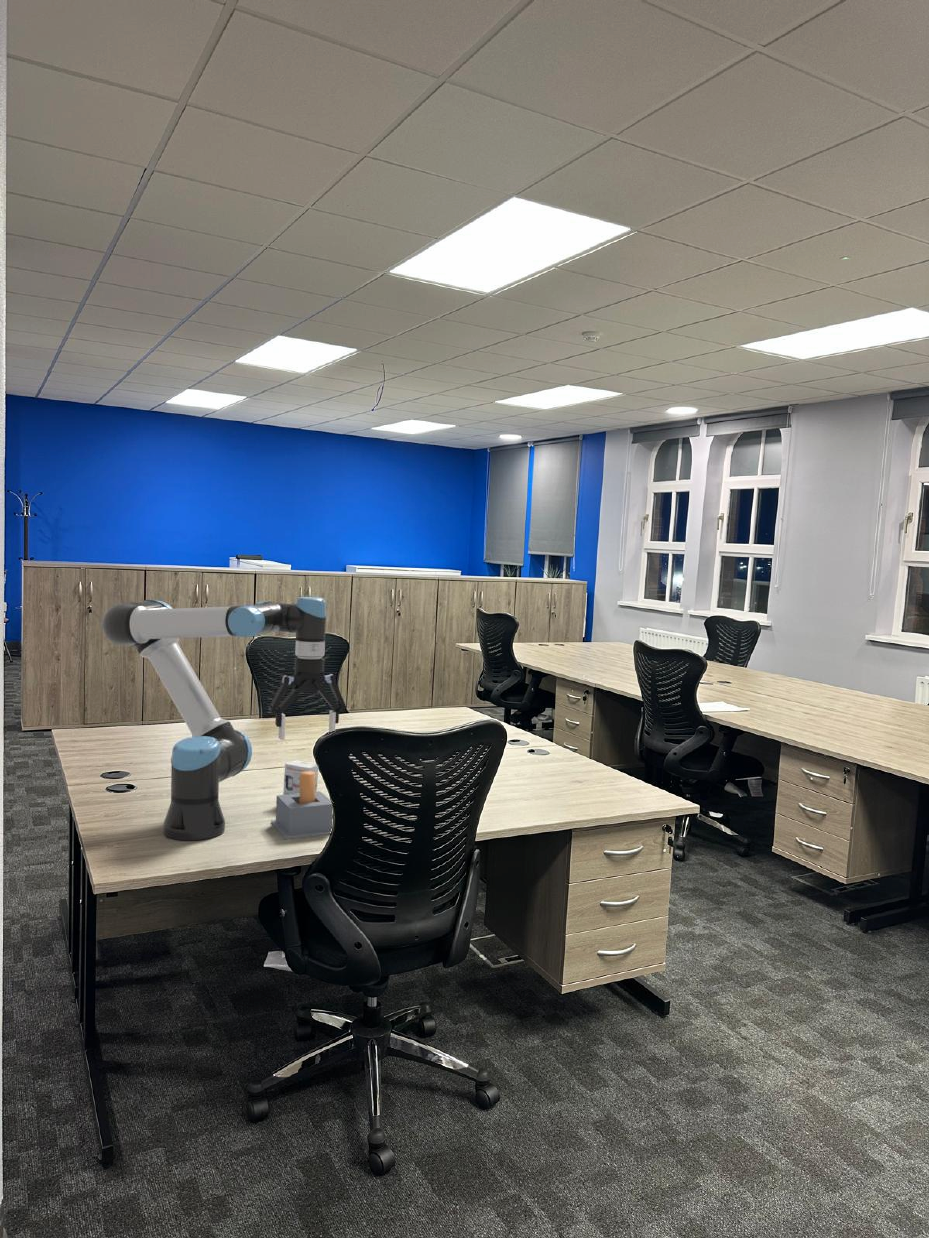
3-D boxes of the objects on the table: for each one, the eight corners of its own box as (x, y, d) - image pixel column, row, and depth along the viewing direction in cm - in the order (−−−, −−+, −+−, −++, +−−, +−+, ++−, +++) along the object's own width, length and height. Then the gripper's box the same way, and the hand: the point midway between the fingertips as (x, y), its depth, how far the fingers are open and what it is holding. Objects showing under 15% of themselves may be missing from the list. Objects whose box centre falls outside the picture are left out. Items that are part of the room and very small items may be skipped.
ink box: (281, 803, 251) (283, 763, 250) (292, 799, 255) (293, 759, 254) (307, 809, 247) (308, 768, 246) (317, 804, 252) (318, 764, 251)
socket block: (286, 839, 222) (287, 809, 221) (271, 822, 234) (271, 794, 234) (338, 832, 229) (339, 804, 228) (321, 816, 241) (322, 789, 240)
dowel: (301, 828, 229) (302, 775, 228) (297, 823, 232) (298, 771, 231) (316, 826, 231) (317, 774, 229) (311, 821, 234) (312, 770, 233)
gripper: (266, 659, 218) (263, 743, 220) (360, 658, 230) (356, 737, 232) (258, 655, 225) (255, 736, 227) (350, 654, 237) (346, 731, 238)
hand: (306, 737), depth 229 cm, fingers open, 13 cm apart
